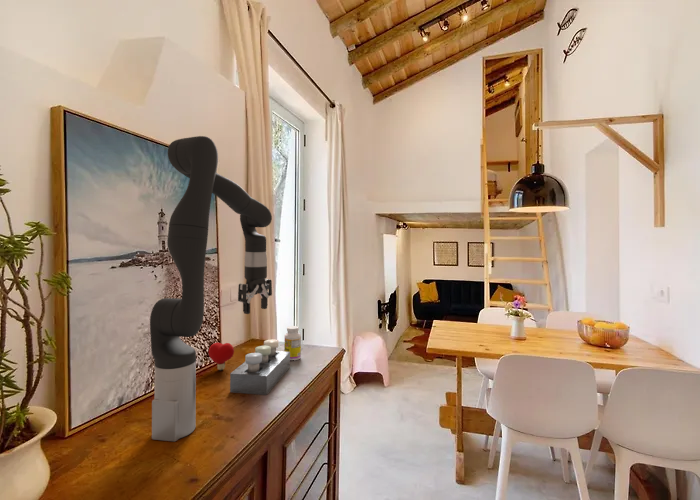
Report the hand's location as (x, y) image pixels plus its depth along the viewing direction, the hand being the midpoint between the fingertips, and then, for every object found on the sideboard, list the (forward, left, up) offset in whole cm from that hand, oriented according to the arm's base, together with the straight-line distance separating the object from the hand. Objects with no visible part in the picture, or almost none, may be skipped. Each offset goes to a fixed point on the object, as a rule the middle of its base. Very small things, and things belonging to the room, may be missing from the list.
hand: (255, 311), depth 120 cm
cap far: (+8, -3, -18) cm, 20 cm away
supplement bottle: (+22, -7, -24) cm, 33 cm away
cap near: (-8, -3, -18) cm, 20 cm away
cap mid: (0, -3, -18) cm, 18 cm away
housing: (0, -3, -24) cm, 24 cm away
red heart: (+5, +15, -24) cm, 28 cm away
